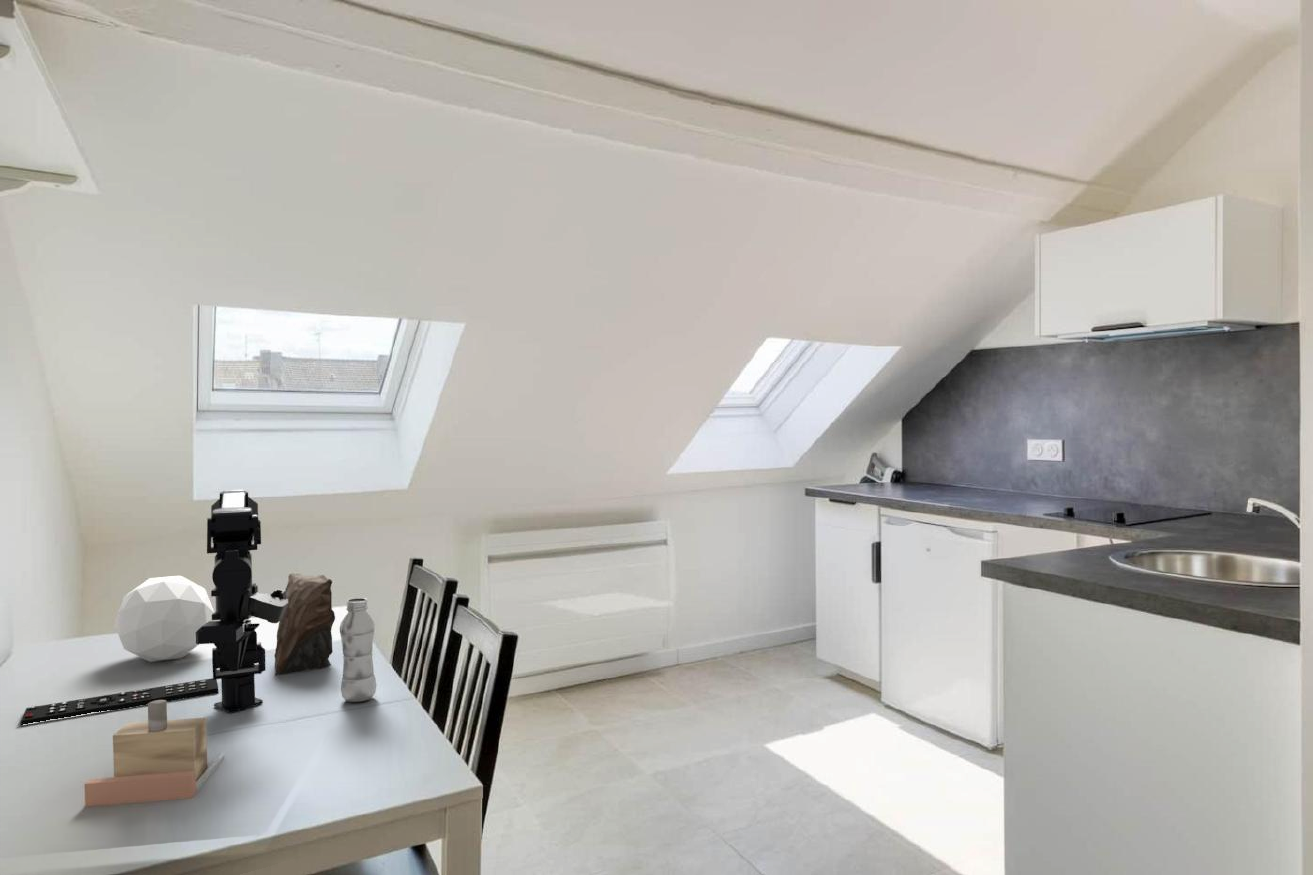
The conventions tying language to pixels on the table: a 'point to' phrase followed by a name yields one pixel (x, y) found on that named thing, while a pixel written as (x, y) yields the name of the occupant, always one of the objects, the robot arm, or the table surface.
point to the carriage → (160, 745)
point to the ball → (163, 618)
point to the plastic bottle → (357, 652)
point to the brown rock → (305, 625)
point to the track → (145, 787)
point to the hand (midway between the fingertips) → (235, 669)
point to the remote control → (119, 700)
